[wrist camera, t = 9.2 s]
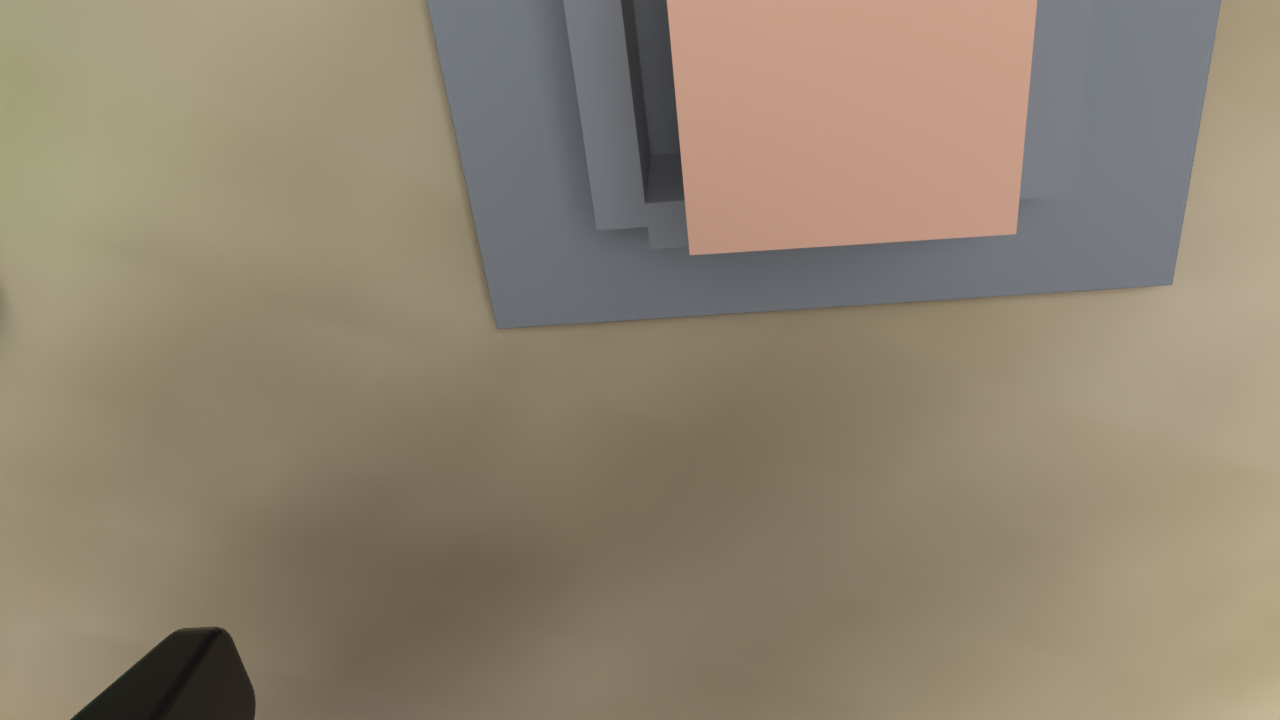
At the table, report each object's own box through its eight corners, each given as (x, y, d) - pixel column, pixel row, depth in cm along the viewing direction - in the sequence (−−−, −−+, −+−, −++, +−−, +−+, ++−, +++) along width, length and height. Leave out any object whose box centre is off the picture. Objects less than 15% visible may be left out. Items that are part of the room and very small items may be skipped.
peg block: (695, 105, 18) (690, 255, 14) (673, -161, 16) (659, -75, 12) (947, 86, 18) (1016, 233, 14) (960, -191, 16) (1046, -111, 12)
